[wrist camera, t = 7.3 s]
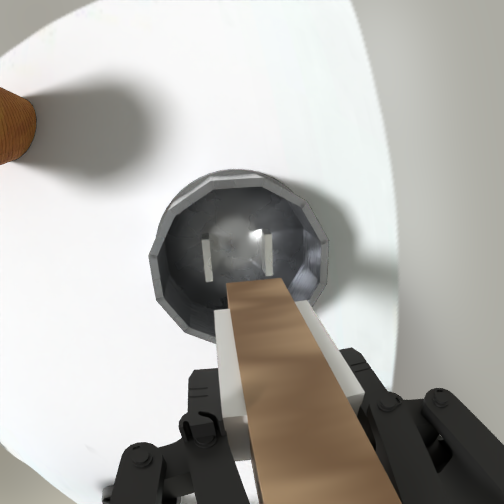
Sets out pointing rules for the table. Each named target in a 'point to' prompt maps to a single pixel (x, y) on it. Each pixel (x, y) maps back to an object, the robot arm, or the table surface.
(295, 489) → the long wooden beam
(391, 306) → the table surface
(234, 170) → the tin
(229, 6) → the table surface
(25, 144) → the disposable coffee cup
